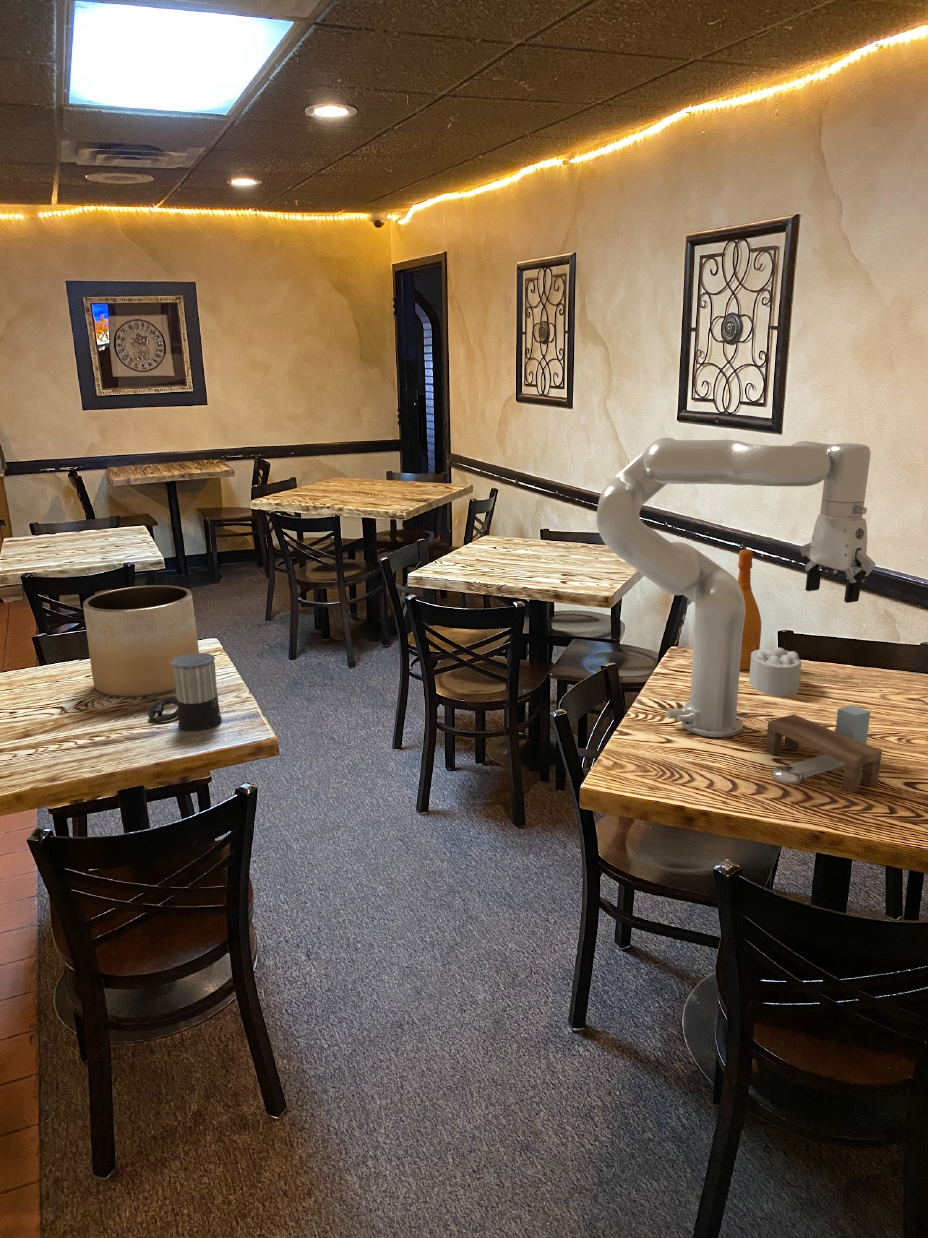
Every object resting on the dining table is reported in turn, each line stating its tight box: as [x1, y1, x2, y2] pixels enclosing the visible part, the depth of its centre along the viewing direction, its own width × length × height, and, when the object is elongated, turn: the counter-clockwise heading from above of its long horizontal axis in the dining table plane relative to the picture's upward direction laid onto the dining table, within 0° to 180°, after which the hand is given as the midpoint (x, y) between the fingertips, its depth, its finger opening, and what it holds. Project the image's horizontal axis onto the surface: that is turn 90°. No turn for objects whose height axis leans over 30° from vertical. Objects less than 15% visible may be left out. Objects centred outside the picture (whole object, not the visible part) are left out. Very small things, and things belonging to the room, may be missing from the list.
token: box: [772, 765, 803, 785], centre depth 159 cm, size 5×5×2 cm
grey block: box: [789, 704, 871, 779], centre depth 163 cm, size 16×4×10 cm, turn 117°
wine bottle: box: [737, 548, 762, 671], centre depth 216 cm, size 10×10×30 cm
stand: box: [765, 713, 883, 794], centre depth 162 cm, size 7×20×6 cm, turn 27°
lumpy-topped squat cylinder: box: [748, 647, 802, 698], centre depth 203 cm, size 10×13×9 cm
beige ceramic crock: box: [82, 585, 200, 699], centre depth 213 cm, size 25×25×22 cm
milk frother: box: [147, 652, 223, 731], centre depth 189 cm, size 14×16×15 cm
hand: (831, 595), depth 170 cm, fingers open, 9 cm apart
